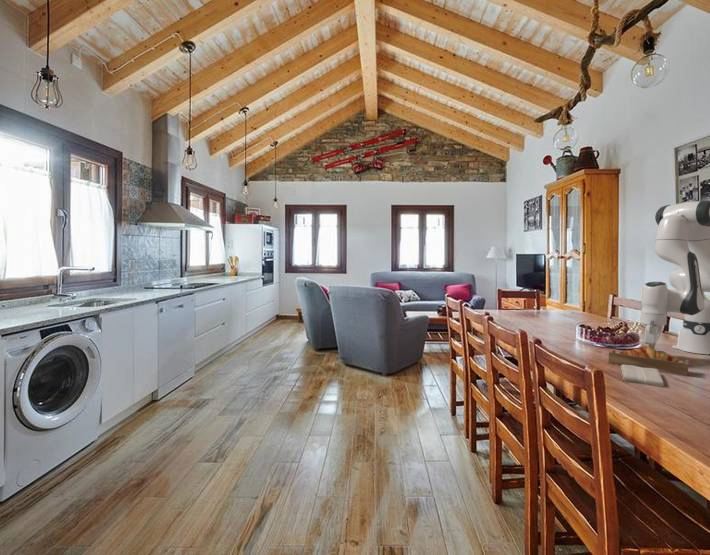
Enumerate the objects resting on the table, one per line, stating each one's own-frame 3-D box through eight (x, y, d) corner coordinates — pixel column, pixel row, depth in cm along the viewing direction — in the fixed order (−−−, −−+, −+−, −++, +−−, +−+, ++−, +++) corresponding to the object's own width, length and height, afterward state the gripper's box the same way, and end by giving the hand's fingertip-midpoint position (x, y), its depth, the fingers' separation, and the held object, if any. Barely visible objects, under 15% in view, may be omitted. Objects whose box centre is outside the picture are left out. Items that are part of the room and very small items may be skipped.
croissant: (681, 373, 156) (681, 354, 158) (685, 367, 148) (685, 347, 151) (618, 363, 168) (619, 346, 170) (619, 357, 160) (620, 339, 162)
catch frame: (612, 359, 163) (612, 349, 163) (688, 371, 146) (688, 360, 146) (608, 363, 157) (608, 352, 157) (687, 376, 141) (687, 364, 140)
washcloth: (657, 375, 144) (658, 367, 144) (665, 389, 129) (666, 380, 128) (619, 369, 150) (619, 362, 150) (622, 382, 135) (622, 374, 135)
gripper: (660, 323, 154) (658, 357, 154) (664, 317, 169) (663, 348, 169) (641, 321, 158) (639, 354, 159) (647, 316, 173) (645, 346, 174)
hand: (651, 351), depth 164 cm, fingers closed
